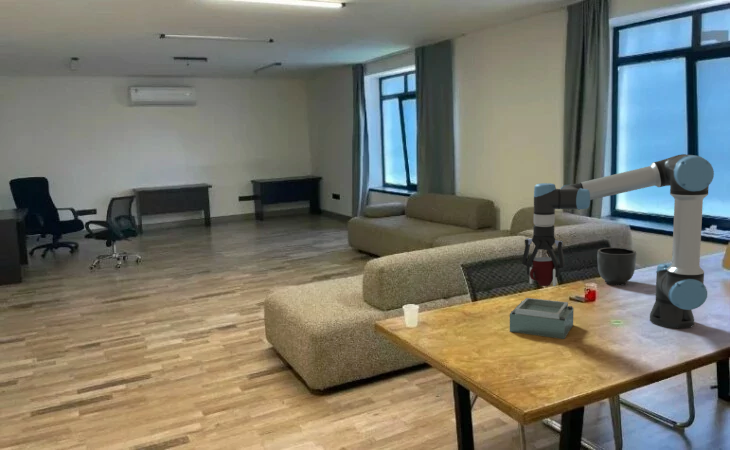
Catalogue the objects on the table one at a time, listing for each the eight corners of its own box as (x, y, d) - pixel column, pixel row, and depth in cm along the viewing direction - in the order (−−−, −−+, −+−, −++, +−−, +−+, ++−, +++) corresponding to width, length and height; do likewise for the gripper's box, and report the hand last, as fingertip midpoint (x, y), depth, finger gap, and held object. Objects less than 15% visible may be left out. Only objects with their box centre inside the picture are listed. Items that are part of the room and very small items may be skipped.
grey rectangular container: (573, 324, 221) (573, 302, 219) (564, 339, 206) (564, 315, 205) (521, 318, 231) (521, 296, 229) (509, 331, 216) (509, 308, 215)
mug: (541, 290, 210) (540, 263, 208) (524, 286, 216) (523, 260, 215) (560, 284, 215) (559, 258, 214) (543, 281, 222) (542, 256, 221)
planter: (592, 278, 286) (593, 247, 284) (628, 278, 284) (629, 247, 281) (601, 287, 269) (602, 254, 267) (640, 287, 267) (641, 254, 265)
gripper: (575, 224, 210) (573, 284, 214) (518, 222, 220) (518, 279, 224) (571, 228, 204) (569, 289, 207) (513, 225, 214) (512, 283, 218)
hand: (542, 284), depth 216 cm, fingers closed on mug, 8 cm apart
